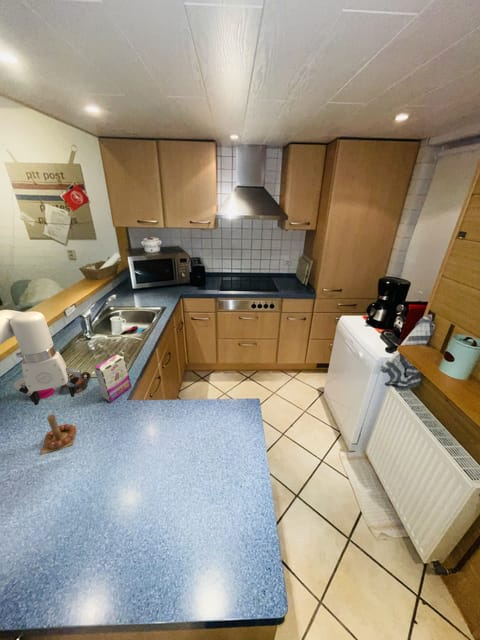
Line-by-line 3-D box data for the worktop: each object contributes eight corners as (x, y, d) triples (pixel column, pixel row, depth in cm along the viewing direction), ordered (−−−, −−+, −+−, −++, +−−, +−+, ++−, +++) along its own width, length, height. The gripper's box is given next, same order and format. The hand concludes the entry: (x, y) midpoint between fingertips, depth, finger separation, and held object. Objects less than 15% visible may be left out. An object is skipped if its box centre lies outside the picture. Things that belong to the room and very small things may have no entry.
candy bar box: (123, 383, 115) (116, 353, 108) (131, 387, 113) (125, 356, 106) (102, 399, 105) (93, 367, 98) (110, 403, 103) (101, 370, 97)
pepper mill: (35, 403, 103) (18, 363, 94) (36, 393, 108) (19, 354, 99) (57, 396, 107) (41, 357, 98) (56, 387, 112) (41, 349, 103)
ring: (42, 453, 81) (40, 449, 80) (48, 432, 88) (46, 428, 88) (75, 443, 84) (73, 439, 83) (78, 423, 92) (76, 419, 91)
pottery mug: (74, 400, 105) (59, 386, 102) (68, 399, 112) (54, 386, 109) (98, 379, 113) (85, 366, 110) (92, 379, 119) (79, 366, 117)
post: (41, 456, 81) (29, 431, 77) (48, 435, 89) (37, 411, 84) (73, 447, 85) (64, 422, 80) (77, 427, 92) (68, 403, 87)
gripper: (-4, 366, 67) (18, 414, 74) (72, 354, 73) (85, 399, 81) (7, 352, 73) (26, 397, 80) (75, 342, 80) (87, 384, 87)
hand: (56, 398), depth 80 cm, fingers open, 9 cm apart
